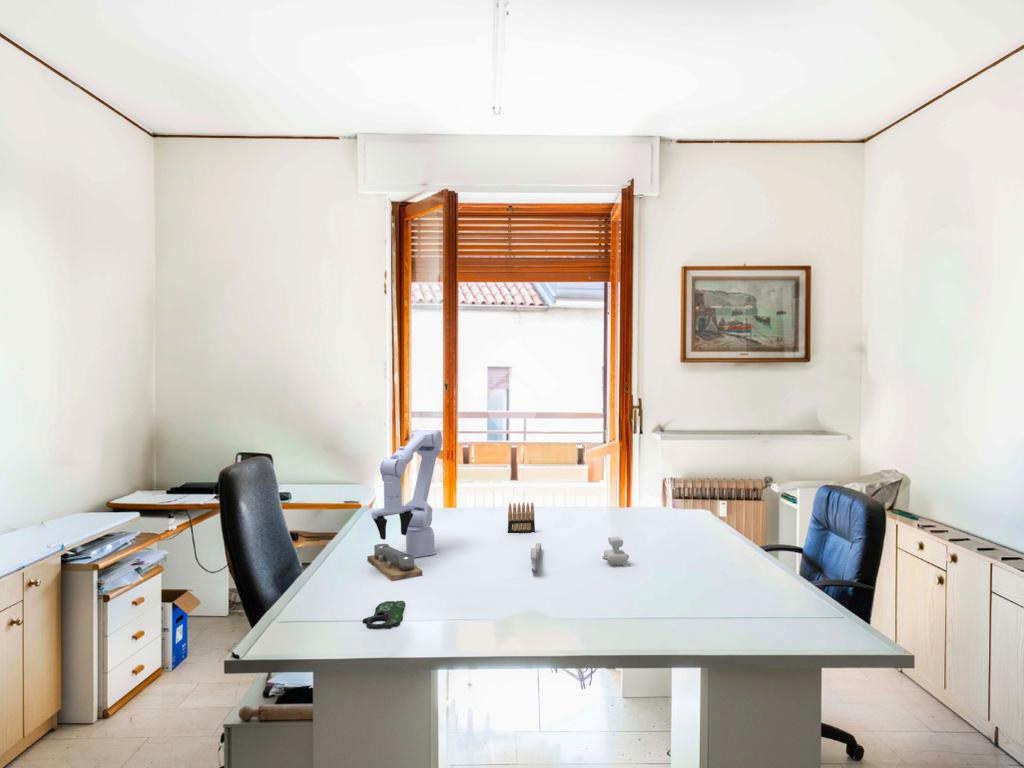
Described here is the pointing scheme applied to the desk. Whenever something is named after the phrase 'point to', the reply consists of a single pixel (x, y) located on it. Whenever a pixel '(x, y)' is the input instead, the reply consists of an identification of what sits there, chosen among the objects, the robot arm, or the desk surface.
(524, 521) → the ammunition clip
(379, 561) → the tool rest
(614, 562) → the stamp
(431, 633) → the desk surface
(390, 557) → the grey elongated piece
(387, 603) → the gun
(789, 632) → the desk surface
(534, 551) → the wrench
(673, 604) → the desk surface
